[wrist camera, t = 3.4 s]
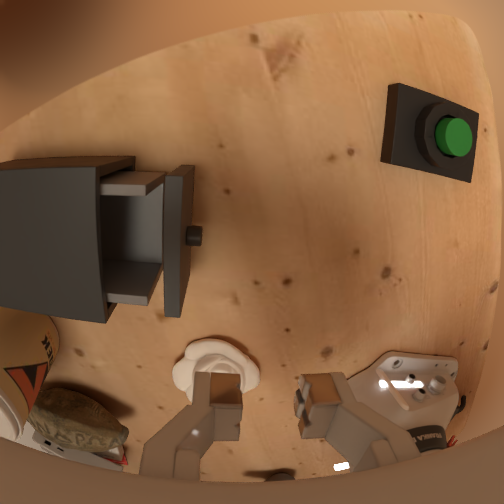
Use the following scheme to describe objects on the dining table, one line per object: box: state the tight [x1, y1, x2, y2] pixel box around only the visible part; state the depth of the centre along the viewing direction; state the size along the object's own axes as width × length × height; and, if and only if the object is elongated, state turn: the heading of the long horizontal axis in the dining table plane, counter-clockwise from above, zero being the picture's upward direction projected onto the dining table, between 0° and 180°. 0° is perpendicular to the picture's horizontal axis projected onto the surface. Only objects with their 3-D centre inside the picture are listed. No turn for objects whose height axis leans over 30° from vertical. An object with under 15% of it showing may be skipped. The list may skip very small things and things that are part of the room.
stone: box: [27, 388, 129, 452], centre depth 33 cm, size 17×9×8 cm
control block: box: [381, 83, 479, 183], centre depth 26 cm, size 11×8×4 cm
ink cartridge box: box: [92, 445, 128, 465], centre depth 40 cm, size 2×11×10 cm
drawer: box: [100, 165, 203, 318], centre depth 25 cm, size 15×10×8 cm
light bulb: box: [264, 473, 295, 482], centre depth 43 cm, size 6×6×10 cm
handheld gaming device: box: [32, 430, 123, 472], centre depth 37 cm, size 9×15×4 cm, turn 66°
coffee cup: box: [0, 307, 59, 442], centre depth 26 cm, size 12×12×15 cm
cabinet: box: [0, 156, 135, 323], centre depth 24 cm, size 15×12×10 cm
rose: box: [172, 338, 260, 402], centre depth 34 cm, size 10×4×10 cm
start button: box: [435, 118, 472, 156], centre depth 24 cm, size 4×4×2 cm
